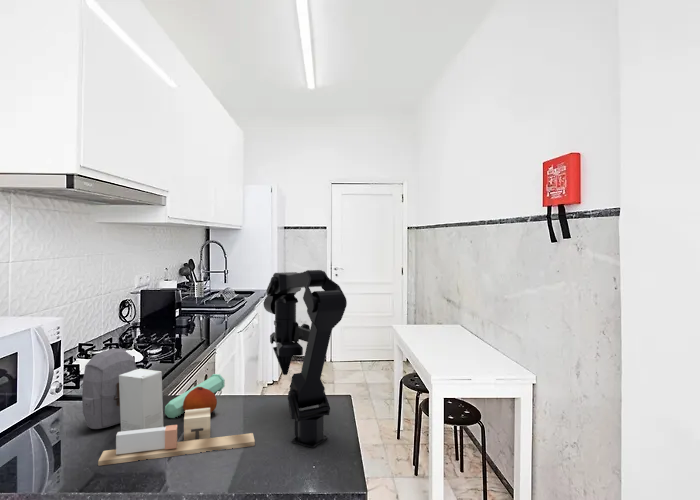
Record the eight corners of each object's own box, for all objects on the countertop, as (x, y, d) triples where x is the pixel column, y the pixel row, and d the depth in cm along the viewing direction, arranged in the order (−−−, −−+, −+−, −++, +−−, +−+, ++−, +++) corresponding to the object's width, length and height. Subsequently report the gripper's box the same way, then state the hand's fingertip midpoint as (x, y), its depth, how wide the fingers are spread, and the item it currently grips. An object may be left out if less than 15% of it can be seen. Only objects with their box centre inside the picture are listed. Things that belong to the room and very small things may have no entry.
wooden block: (210, 441, 107) (210, 416, 107) (183, 444, 105) (183, 419, 105) (210, 430, 113) (210, 407, 113) (185, 433, 111) (185, 410, 111)
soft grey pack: (126, 412, 125) (126, 341, 125) (148, 416, 122) (148, 344, 122) (74, 432, 111) (74, 353, 111) (97, 438, 108) (97, 357, 108)
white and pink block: (177, 442, 103) (177, 424, 103) (176, 448, 100) (176, 429, 100) (118, 449, 100) (118, 431, 99) (115, 455, 97) (115, 436, 97)
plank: (252, 437, 109) (252, 433, 109) (254, 445, 105) (254, 441, 105) (103, 455, 100) (103, 450, 100) (98, 465, 95) (98, 461, 95)
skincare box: (164, 432, 112) (164, 371, 112) (142, 443, 106) (142, 378, 106) (140, 426, 115) (140, 367, 115) (118, 436, 109) (118, 373, 109)
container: (174, 398, 120) (221, 371, 144) (157, 404, 121) (206, 376, 146) (182, 418, 120) (227, 388, 144) (164, 425, 121) (212, 393, 145)
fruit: (211, 422, 118) (211, 392, 118) (178, 422, 119) (178, 392, 118) (221, 410, 127) (221, 382, 127) (190, 409, 127) (191, 382, 127)
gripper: (322, 322, 115) (321, 382, 115) (307, 311, 133) (307, 363, 133) (279, 324, 112) (279, 385, 112) (269, 313, 129) (269, 366, 130)
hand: (285, 374), depth 122 cm, fingers closed
